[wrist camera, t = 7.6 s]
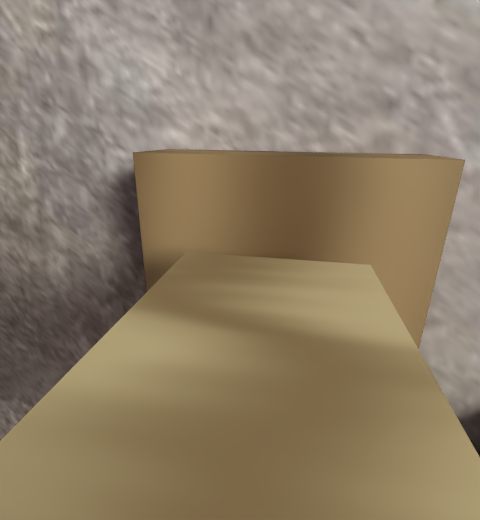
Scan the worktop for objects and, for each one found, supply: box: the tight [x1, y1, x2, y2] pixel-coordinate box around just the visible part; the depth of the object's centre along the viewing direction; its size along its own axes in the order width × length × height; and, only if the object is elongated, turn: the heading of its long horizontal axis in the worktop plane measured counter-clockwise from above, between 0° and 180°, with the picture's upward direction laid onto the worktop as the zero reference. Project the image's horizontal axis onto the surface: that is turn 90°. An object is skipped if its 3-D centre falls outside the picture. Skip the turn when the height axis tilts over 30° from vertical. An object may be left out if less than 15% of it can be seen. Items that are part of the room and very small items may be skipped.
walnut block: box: [133, 149, 465, 349], centre depth 13 cm, size 10×10×3 cm
